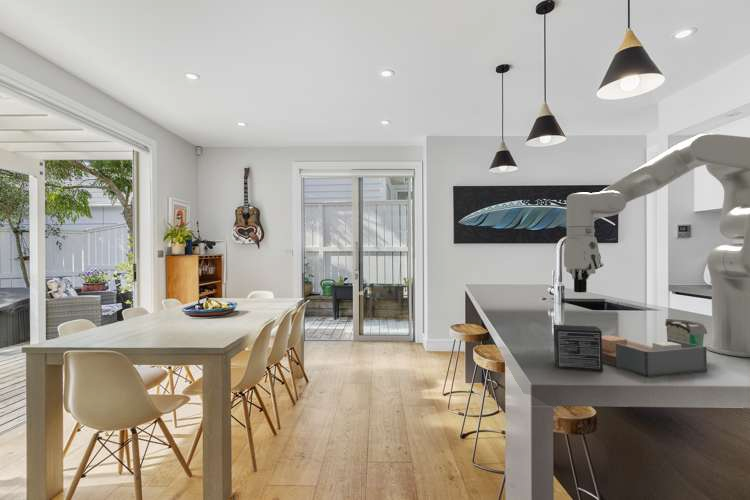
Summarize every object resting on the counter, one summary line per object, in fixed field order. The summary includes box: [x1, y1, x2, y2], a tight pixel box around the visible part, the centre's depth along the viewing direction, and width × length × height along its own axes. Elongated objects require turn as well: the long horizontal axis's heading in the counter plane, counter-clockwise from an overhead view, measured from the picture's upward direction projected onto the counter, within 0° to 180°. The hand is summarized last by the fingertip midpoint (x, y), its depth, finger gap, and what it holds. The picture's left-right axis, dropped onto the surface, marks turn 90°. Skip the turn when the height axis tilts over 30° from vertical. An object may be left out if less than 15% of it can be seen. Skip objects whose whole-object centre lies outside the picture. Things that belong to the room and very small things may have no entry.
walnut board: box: [602, 340, 653, 367], centre depth 106 cm, size 18×13×2 cm
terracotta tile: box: [602, 334, 628, 352], centre depth 105 cm, size 6×6×3 cm
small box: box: [553, 324, 604, 373], centre depth 97 cm, size 11×6×10 cm, turn 71°
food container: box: [664, 318, 708, 346], centre depth 103 cm, size 12×6×10 cm, turn 168°
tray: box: [615, 339, 708, 379], centre depth 95 cm, size 18×9×6 cm, turn 103°
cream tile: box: [651, 341, 682, 351], centre depth 96 cm, size 6×6×3 cm
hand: (580, 291), depth 116 cm, fingers closed
